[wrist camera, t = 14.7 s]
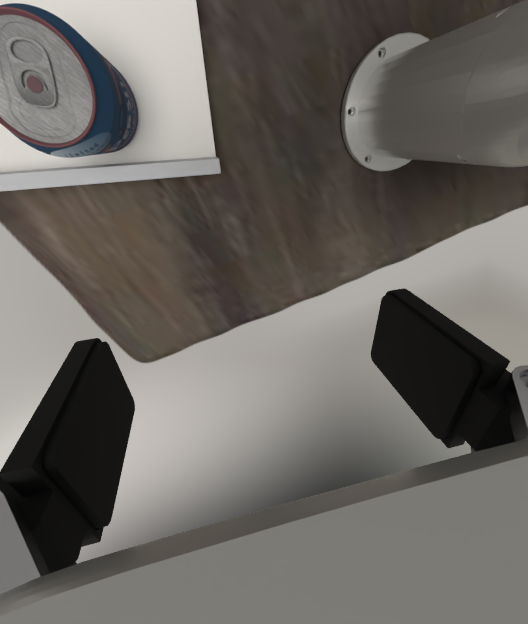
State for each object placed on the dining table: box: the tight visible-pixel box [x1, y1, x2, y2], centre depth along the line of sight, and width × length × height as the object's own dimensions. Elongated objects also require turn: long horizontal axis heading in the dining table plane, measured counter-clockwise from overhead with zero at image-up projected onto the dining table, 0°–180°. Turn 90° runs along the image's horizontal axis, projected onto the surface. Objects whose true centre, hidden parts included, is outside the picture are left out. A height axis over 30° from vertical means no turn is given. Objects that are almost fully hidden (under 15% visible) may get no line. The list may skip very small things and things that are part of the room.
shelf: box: [0, 0, 221, 191], centre depth 23 cm, size 20×15×7 cm
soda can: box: [0, 3, 138, 158], centre depth 19 cm, size 7×7×12 cm
